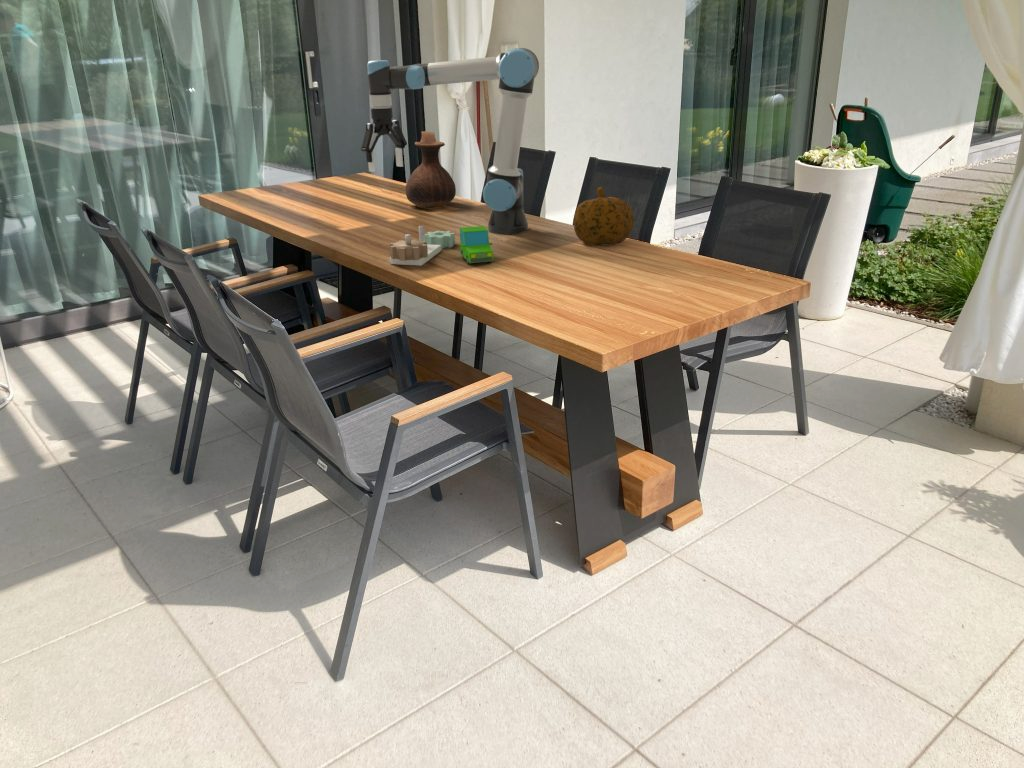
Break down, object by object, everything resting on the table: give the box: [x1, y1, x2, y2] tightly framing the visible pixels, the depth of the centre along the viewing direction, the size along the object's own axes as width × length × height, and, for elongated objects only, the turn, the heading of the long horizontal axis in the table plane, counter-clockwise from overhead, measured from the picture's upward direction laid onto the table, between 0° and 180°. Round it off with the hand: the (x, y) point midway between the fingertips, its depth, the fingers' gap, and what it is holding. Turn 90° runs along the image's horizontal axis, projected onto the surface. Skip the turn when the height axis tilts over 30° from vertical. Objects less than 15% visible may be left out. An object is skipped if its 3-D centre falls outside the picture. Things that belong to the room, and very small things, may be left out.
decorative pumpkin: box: [573, 186, 635, 247], centre depth 293 cm, size 20×21×20 cm
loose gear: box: [424, 230, 456, 250], centre depth 295 cm, size 10×10×4 cm
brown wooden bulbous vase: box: [405, 130, 457, 209], centre depth 355 cm, size 22×22×30 cm
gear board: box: [389, 225, 442, 267], centre depth 278 cm, size 12×23×9 cm, turn 166°
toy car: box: [459, 225, 494, 265], centre depth 274 cm, size 10×13×10 cm
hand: (386, 169), depth 301 cm, fingers open, 13 cm apart
